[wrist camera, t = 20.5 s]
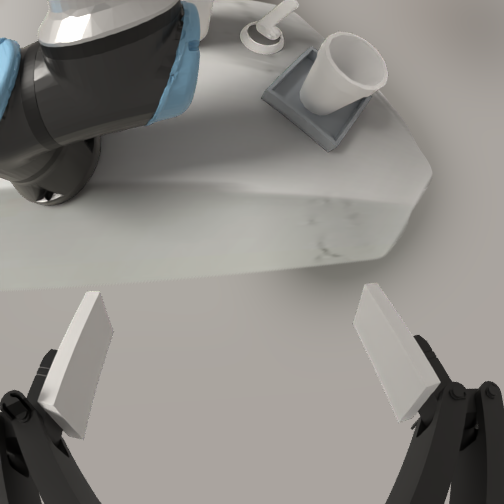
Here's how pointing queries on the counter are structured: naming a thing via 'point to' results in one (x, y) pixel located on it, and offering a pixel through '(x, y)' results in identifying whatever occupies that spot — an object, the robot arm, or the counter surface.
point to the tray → (289, 104)
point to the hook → (269, 28)
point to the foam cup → (342, 73)
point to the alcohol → (203, 14)
